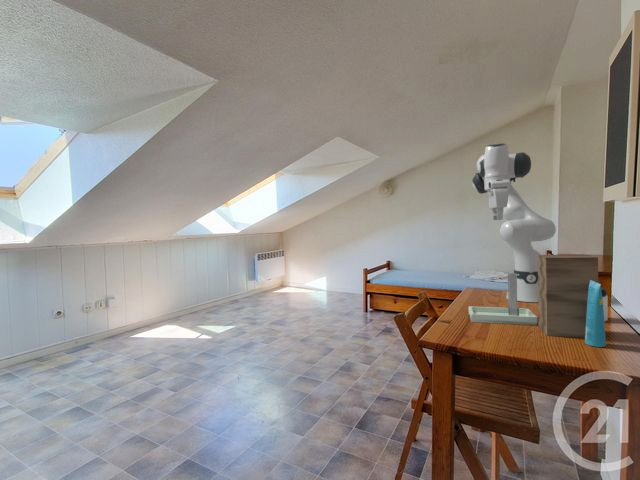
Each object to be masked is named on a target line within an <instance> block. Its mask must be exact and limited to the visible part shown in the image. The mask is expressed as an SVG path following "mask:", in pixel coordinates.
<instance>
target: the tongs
mask: <svg viewBox="0 0 640 480" xmlns="http://www.w3.org/2000/svg"><path fill="white" fill-rule="evenodd" d="M507 292H508V299H507V302H508V303H507V304H508V307H507V308H508V310H509V315H512V316H519V308H520V307H519V306H518V301H517V274H515V273H514V272H513V273H512V272H509V273H508V272H507Z"/></svg>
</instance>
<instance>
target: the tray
mask: <svg viewBox="0 0 640 480" xmlns="http://www.w3.org/2000/svg"><path fill="white" fill-rule="evenodd" d="M518 308H519V316H512V315H509V310H508V307H499V306H497V307H496V306H495V307H494V306H471V305H469V306H468V315H470V316H469V318H470V321H471V323H485V324H486V323H487V324H503V325H519V326H520V325H522V326H523V325H524V326H538V316H537V315H536V314H534V313H533V311H531V310H530V309H529V308H520V307H518Z"/></svg>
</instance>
